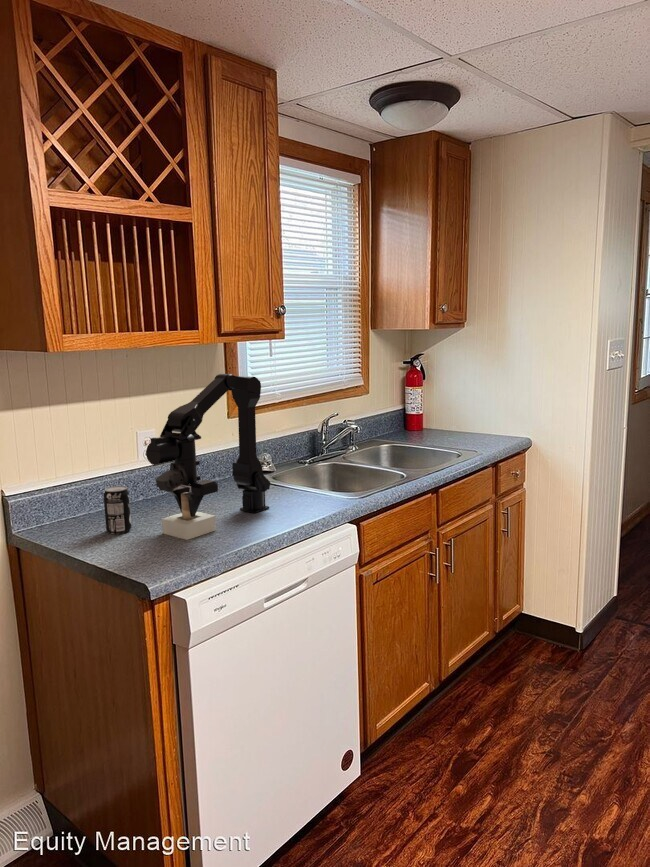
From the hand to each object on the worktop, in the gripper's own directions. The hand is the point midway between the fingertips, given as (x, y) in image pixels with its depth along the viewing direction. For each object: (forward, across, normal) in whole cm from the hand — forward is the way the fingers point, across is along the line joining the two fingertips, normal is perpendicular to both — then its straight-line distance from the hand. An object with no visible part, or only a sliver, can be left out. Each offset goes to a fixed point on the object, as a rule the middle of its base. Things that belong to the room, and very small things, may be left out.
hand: (188, 515), depth 178 cm
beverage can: (+5, -16, -11) cm, 20 cm away
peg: (+2, 0, 0) cm, 2 cm away
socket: (+4, 0, 0) cm, 4 cm away
